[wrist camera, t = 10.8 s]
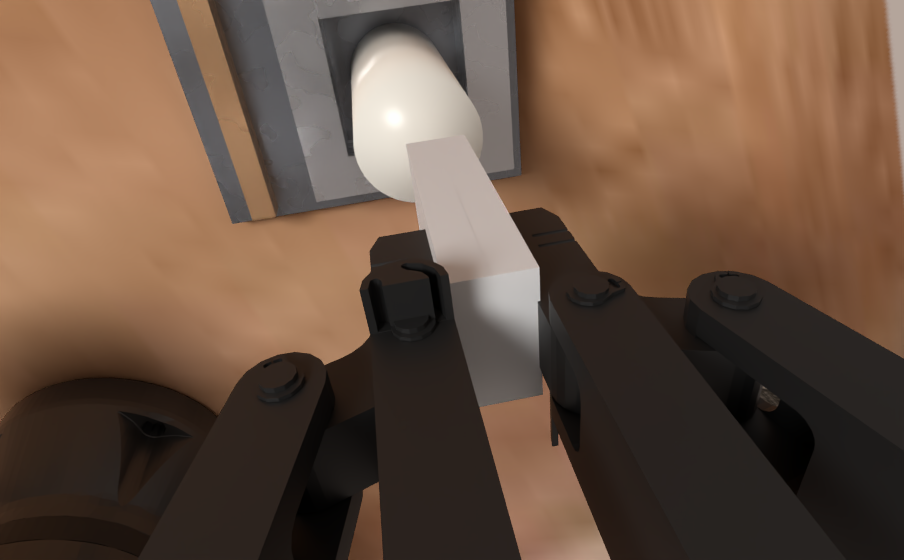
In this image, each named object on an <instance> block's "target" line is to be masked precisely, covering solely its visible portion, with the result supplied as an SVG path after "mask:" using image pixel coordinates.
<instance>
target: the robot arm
mask: <svg viewBox="0 0 904 560" xmlns="http://www.w3.org/2000/svg"><path fill="white" fill-rule="evenodd" d="M406 148H407V154H408V160H409V167H410V173H411V179H412V185H413V192H414V198H415V204H416V210H417V217H418V223H419V229H420V230H418V231H413V232H407V233H401V234H395V235H389V236H383V237H379V238H378V239H377V241H376V242H375V244H374V245H373V247H372V248H371V250H370V262H371V272H370V274H369V275H368V276H367V277H366V278H365V279H364V280H363V281H362V284H361V287H360V294H361V298H362V302H363V307H364V311H365V315H366V319H367V323H368V327H369V331H370V337H369V338H368V339H367V340H366V342H365V343H364V344H363V345H362V346H360V347H359V348H358V349H356V350H355V351H354V352H352V353H350V354H349V355H347V356H345V357H343V358H341V359H338V360H336V361H334V362H331V363H329V364H326V365H324V364H323V362H322V361H321V360H320V359H318V358H317V357H315V356H313V355H311V354H307V353H298V352H293V353H286V354H280V355H276V356H274V357H271V358H269V359H266V360H264V361H261V362H260V363H258V364H257V365H256V366H254V367H253V368H251V369H250V370H248V371H247V372H246V373H245V374H244V375H243V377H242V378H241V379H240V380H239V382H238V383H237V384H236V386H235V387H234V389H233V391H232V393H231V394H230V396H229V398H228V400H227V402H226V403H225V405H224V407H223V409H222V410H221V412H220V414H219V416H218V418H217V417H216V416H215V415H214V414H213V413H211V412H210V411H209V410H208V409H206V408H205V407H203V406H202V405H200V404H199V403H197V402H196V401H194V400H192V399H190V398H188V397H186V396H184V395H182V394H180V393H177V392H175V391H172V390H170V389H167V388H164V387H161V386H157V385H154V384H150V383H145V382H140V381H134V380H127V379H115V378H92V379H81V380H74V381H68V382H64V383H60V384H56V385H53V386H50V387H47V388H44V389H42V390H39V391H37V392H35V393H33V394H31V395H29V396H27V397H26V398H24V399H23V400H21V401H20V402H19V403H17V404H16V405H15V406H14V407H13V408H12V409H11V410H10V411H9V412H8V413H7V414H6V415H5V417H4V418H3V420H2V421H1V422H0V560H348V556H349V552H350V548H351V543H352V539H353V535H354V531H355V527H356V523H357V518H358V514H359V510H360V506H361V502H362V497H363V490H364V489H366V488H367V487H369V486H371V485H373V484H375V483H377V482H379V492H380V509H381V526H382V544H383V560H521V556H520V553H519V549H518V546H517V542H516V538H515V535H514V531H513V528H512V524H511V520H510V517H509V513H508V510H507V506H506V502H505V499H504V495H503V492H502V488H501V484H500V481H499V477H498V474H497V470H496V466H495V463H494V459H493V455H492V452H491V448H490V445H489V441H488V437H487V434H486V430H485V427H484V423H483V419H482V416H481V412H480V409H479V407H482V406H487V405H492V404H497V403H502V402H507V401H512V400H517V399H522V398H528V397H533V396H538V395H543V388H542V374H543V376H544V379H545V381H546V383H547V385H548V388H549V390H550V419H551V441H552V446H557V445H558V433H559V435H560V438H561V440H562V443H563V445H564V447H565V450H566V452H567V455H568V457H569V460H570V462H571V464H572V467H573V469H574V472H575V474H576V476H577V479H578V481H579V484H580V486H581V489H582V491H583V493H584V496H585V498H586V501H587V503H588V506H589V508H590V510H591V513H592V515H593V518H594V520H595V522H596V525H597V527H598V530H599V532H600V535H601V537H602V539H603V542H604V544H605V547H606V549H607V552H608V554H609V556H610V559H611V560H904V359H903V358H901V357H900V356H898V355H896V354H894V353H893V352H891V351H889V350H887V349H886V348H884V347H882V346H880V345H879V344H877V343H875V342H873V341H872V340H870V339H868V338H866V337H865V336H863V335H861V334H859V333H857V332H856V331H854V330H852V329H850V328H849V327H847V326H845V325H843V324H842V323H840V322H838V321H836V320H835V319H833V318H831V317H829V316H828V315H826V314H824V313H822V312H821V311H819V310H817V309H815V308H814V307H812V306H810V305H808V304H806V303H805V302H803V301H801V300H799V299H798V298H796V297H794V296H792V295H791V294H789V293H787V292H785V291H784V290H782V289H780V288H778V287H777V286H775V285H773V284H771V283H770V282H768V281H765V280H763V279H760V278H758V277H756V276H753V275H749V274H744V273H739V272H734V271H716V272H712V273H707V274H702V275H701V276H699V277H697V278H696V279H694V280H692V281H691V283H690V285H689V287H688V289H687V295H686V298H654V297H643V296H638V294H637V293H636V292H635V290H634V289H633V288H632V287H631V285H629V284H628V283H627V282H626V281H624V280H623V279H622V278H620V277H618V276H615V275H613V274H610V273H607V272H600V271H598V270H597V269H596V267H595V266H594V265H593V263H592V262H591V260H590V259H589V258H588V256H587V255H586V254H585V252H584V251H583V249H582V248H581V247H580V245H579V244H578V243H577V241H575V239H574V237H573V236H572V234H571V233H570V232H569V231H567V228H566V226H565V225H564V223H563V222H562V221H561V219H560V218H559V217H558V216H557V215H555V214H553V213H551V212H549V211H547V210H545V209H543V208H536V209H530V210H524V211H519V212H513V213H508V211H507V209H506V207H505V205H504V204H503V202H502V200H501V198H500V197H499V195H498V193H497V191H496V190H495V188H494V186H493V184H492V182H491V181H490V179H489V177H488V175H487V174H486V172H485V170H484V168H483V167H482V165H481V163H480V161H479V159H478V158H477V156H476V154H475V152H474V151H473V149H472V147H471V145H470V144H469V142H468V140H467V138H466V136H465V135H458V136H452V137H446V138H440V139H433V140H427V141H421V142H415V143H408V144H406ZM763 386H764V387H765V388H766V389H768V390H769V391H770V392H772V393H773V394H774V395H776V396H777V397H778V398H780V401H779V404H778V406H773V405H771V404H770V403H768V402H766V401H765V400H763V399H762V398H761V397H760V395H761V391H762V387H763Z"/></svg>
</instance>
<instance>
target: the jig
mask: <svg viewBox="0 0 904 560" xmlns="http://www.w3.org/2000/svg"><path fill="white" fill-rule="evenodd" d="M150 1H151V4H152V7H153V9H154V12H155V15H156V17H157V20H158V23H159V26H160V28H161V31H162V34H163V36H164V39H165V42H166V45H167V47H168V50H169V53H170V55H171V58H172V61H173V63H174V66H175V69H176V72H177V74H178V77H179V80H180V82H181V85H182V88H183V91H184V93H185V96H186V99H187V101H188V104H189V107H190V110H191V112H192V115H193V118H194V120H195V123H196V126H197V129H198V131H199V134H200V137H201V139H202V142H203V145H204V148H205V150H206V153H207V156H208V158H209V161H210V164H211V167H212V169H213V172H214V175H215V177H216V180H217V183H218V186H219V188H220V191H221V194H222V196H223V199H224V202H225V205H226V207H227V210H228V213H229V215H230V218H231V221H232V224H234V223H240V222H246V221H252V220H253V221H255V220H261V219H267V218H273V217H276V216H282V215H288V214H294V213H300V212H305V211H311V210H317V209H323V208H329V207H335V206H341V205H347V204H353V203H359V202H365V201H371V200H377V199H383V198H389V196H387V195H386V194H384V193H382V192H381V191H379V190H378V189H376V188H375V187H374V186H373V185H372V184H371V183H370V182H369V181H368V180H367V178H366V177H365V176H364V174H363V173H362V171H361V170H360V167H359V165H358V163H357V160H356V157H355V153H354V146H353V118H352V89H351V61H352V57H353V53H354V51H355V48H356V47H357V45H358V43H359V42H360V40H361V39H362V38H363V37H364V36H365V35H366V34H367V33H368V32H370V31H371V30H373V29H374V28H376V27H378V26H381V25H384V24H389V23H402V24H406V25H410V26H412V27H414V28H416V29H418V30H420V31H421V32H423V33H424V34H425V35H426V36H427V37H428V38H429V39H430V40H431V42H432V43H433V44H434V46H435V47H436V49H437V50H438V52H439V53H440V55H441V56H442V58H443V60H444V61H445V63H446V64H447V66H448V67H449V69H450V70H451V72H452V73H453V75H454V76H455V78H456V79H457V81H458V82H459V84H460V85H461V87H462V88H463V90H464V91H465V93H466V94H467V96H468V97H469V99H470V100H471V102H472V103H473V105H474V107H475V108H476V110H477V112H478V115H479V117H480V121H481V124H482V130H483V145H482V151H481V155H480V158H479V161H480V163H481V165H482V167H483V168H484V170H485V172H486V174H487V175H488V177H489V179H490V180H496V179H502V178H508V177H514V176H520V175H521V154H520V130H519V107H518V83H517V60H516V36H515V13H514V0H150Z"/></svg>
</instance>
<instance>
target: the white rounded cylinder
mask: <svg viewBox="0 0 904 560" xmlns="http://www.w3.org/2000/svg"><path fill="white" fill-rule="evenodd" d="M351 89H352V118H353V146H354V153H355V157H356V160H357V163H358V165H359V167H360V170H361V171H362V173H363V174H364V176H365V177H366V178H367V180H368V181H369V182H370V183H371V184H372V185H373V186H374V187H375V188H376V189H378V190H379V191H381V192H382V193H384V194H386V195H387V196H389V197H392V198H394V199H397V200H401V201H405V202H415V198H414V192H413V185H412V179H411V173H410V167H409V160H408V154H407V148H406V144H408V143H415V142H421V141H427V140H433V139H440V138H446V137H452V136H458V135H465V136H466V138H467V140H468V142H469V144H470V145H471V147H472V149H473V151H474V152H475V154H476V156H477V158H478V159H479V158H480V155H481V151H482V145H483V130H482V124H481V121H480V117H479V115H478V112H477V110H476V108H475V107H474V105H473V103H472V102H471V100H470V99H469V97H468V96H467V94H466V93H465V91H464V90H463V88H462V87H461V85H460V84H459V82H458V81H457V79H456V78H455V76H454V75H453V73H452V72H451V70H450V69H449V67H448V66H447V64H446V63H445V61H444V60H443V58H442V56H441V55H440V53H439V52H438V50H437V49H436V47H435V46H434V44H433V43H432V42H431V40H430V39H429V38H428V37H427V36H426V35H425V34H424V33H423V32H421V31H420V30H418V29H416V28H414V27H412V26H410V25H406V24H402V23H389V24H384V25H381V26H378V27H376V28H374V29H373V30H371V31H370V32H368V33H367V34H366V35H365V36H364V37H363V38H362V39H361V40H360V42H359V43H358V45H357V47H356V48H355V51H354V53H353V57H352V61H351Z"/></svg>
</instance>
